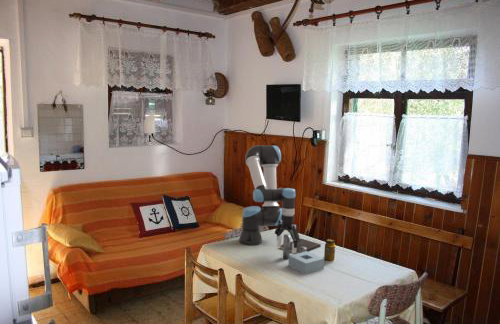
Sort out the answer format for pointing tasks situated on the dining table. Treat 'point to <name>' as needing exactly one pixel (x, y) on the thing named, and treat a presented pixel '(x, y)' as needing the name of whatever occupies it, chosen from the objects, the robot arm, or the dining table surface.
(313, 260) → the hole block
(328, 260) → the condiment
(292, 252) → the robot arm
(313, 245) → the hardcover book
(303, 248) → the short pin
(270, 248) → the dining table surface
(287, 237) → the long pin
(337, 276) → the dining table surface
